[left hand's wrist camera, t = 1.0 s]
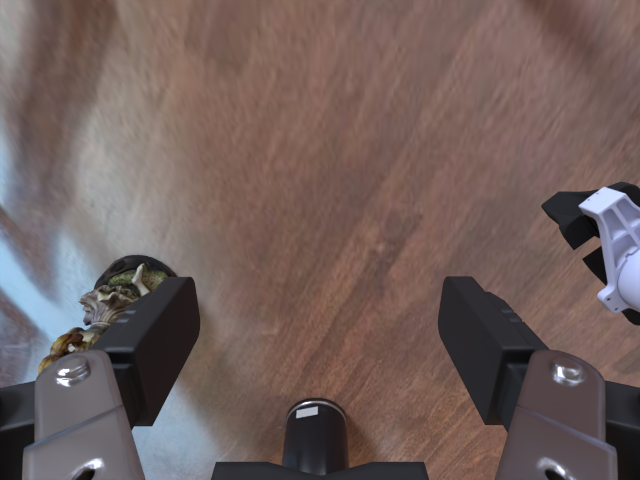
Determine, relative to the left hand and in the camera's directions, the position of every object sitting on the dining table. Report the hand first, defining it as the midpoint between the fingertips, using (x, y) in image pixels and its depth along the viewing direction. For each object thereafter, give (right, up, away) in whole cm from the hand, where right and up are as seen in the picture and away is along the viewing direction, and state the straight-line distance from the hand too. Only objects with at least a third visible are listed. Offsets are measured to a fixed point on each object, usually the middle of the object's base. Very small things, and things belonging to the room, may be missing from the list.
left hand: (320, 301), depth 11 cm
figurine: (-24, -5, +35) cm, 43 cm away
